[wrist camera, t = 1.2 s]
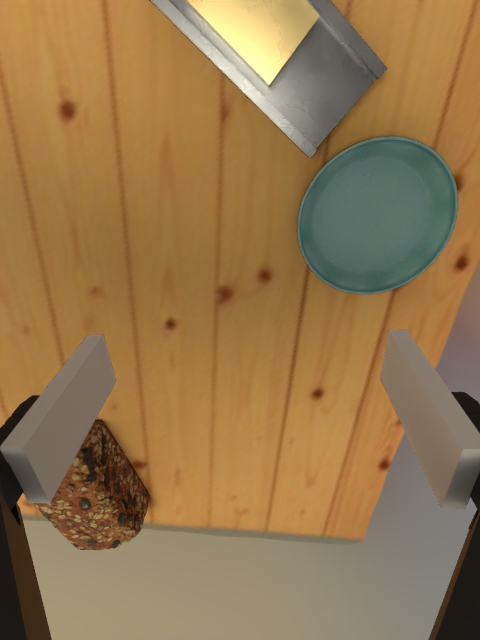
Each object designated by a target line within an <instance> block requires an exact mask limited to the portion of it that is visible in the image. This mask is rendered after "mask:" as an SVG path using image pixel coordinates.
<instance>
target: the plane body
mask: <svg viewBox="0 0 480 640" xmlns="http://www.w3.org/2000/svg"><path fill="white" fill-rule="evenodd" d="M150 1H151V2H152V3H153V4H154V5H155V6H156V7H157V8H158V9H159V10H160V11H161V12H162V13H163V14H164V15H165V16H166V17H167V18H168V19H169V20H170V21H171V22H172V23H173V24H174V25H175V26H176V27H177V28H178V29H179V30H180V31H181V32H182V33H183V34H184V35H185V36H186V37H187V38H188V39H189V40H190V41H191V42H192V43H193V44H194V45H195V46H196V47H197V48H198V49H199V50H200V51H201V52H202V53H203V54H204V55H205V56H206V57H207V58H208V59H209V60H210V61H211V62H212V63H213V64H214V65H215V66H216V67H217V68H219V69H220V70H221V71H222V72H223V73H224V74H225V75H226V76H227V77H228V78H229V79H230V80H231V81H232V82H233V83H234V84H235V85H236V86H237V87H238V88H239V89H240V90H241V91H242V92H243V93H244V94H245V95H246V96H247V97H248V98H249V99H250V100H251V101H252V102H253V103H254V104H255V105H256V106H257V107H258V108H259V109H260V110H261V111H262V112H263V113H264V114H265V115H266V116H267V117H268V118H269V119H270V120H271V121H272V122H273V123H274V124H275V125H276V126H277V127H278V128H279V129H280V130H281V131H282V132H283V133H284V134H285V135H286V136H287V137H288V138H289V139H290V140H291V141H292V142H293V143H294V144H295V145H296V146H297V147H298V148H299V149H300V150H301V151H302V152H303V153H304V154H305V155H307V156H308V157H309V158H311V157H312V156H313V154H314V153H315V152H316V151H317V150H316V148H317V147H318V146H319V145H320V144H321V142H322V141H323V140H324V139H325V138H326V137H327V135H328V134H329V133H330V132H331V131H332V130H333V128H334V127H335V126H336V125H337V124H338V123H339V121H340V120H341V119H342V118H343V117H344V116H345V114H346V113H347V112H348V111H349V110H350V109H351V108H352V106H353V105H354V104H355V103H356V102H357V101H358V99H359V98H360V97H361V96H362V95H363V94H364V92H365V91H366V90H367V89H368V88H369V87H370V85H371V84H372V83H373V82H374V81H375V80H376V79H379V78H380V77H381V76H382V74H383V73H384V72H385V71H386V70H387V69H388V68H387V67H386V66H385V65H384V64H383V63H382V61H381V60H380V59H379V58H378V57H377V55H376V54H375V53H374V52H373V51H372V49H371V48H370V47H369V46H368V45H367V43H366V42H365V41H364V40H363V39H362V38H361V36H360V35H359V34H358V33H357V32H356V30H355V29H354V28H353V27H352V26H351V24H350V23H349V22H348V21H347V20H346V18H345V17H344V16H343V15H342V14H341V12H340V11H339V10H338V9H337V8H336V7H335V5H334V4H333V3H332V2H331V1H330V0H307V2H308V3H309V4H310V5H311V6H312V7H313V9H314V10H315V11H316V12H317V13H318V14H319V16H320V17H319V18H318V20H317V22H316V24H315V26H314V27H313V29H312V30H311V31H310V33H309V34H308V35H307V37H306V38H305V39H304V41H303V42H302V43H301V45H300V46H299V48H298V49H297V50H296V52H295V53H294V54H293V56H292V57H291V58H290V60H289V61H288V62H287V64H286V65H285V67H284V68H283V69H282V71H281V72H280V73H279V75H278V76H277V77H276V79H275V80H274V81H273V83H272V84H271V86H270V87H269V88H268V87H267V86H266V85H265V84H264V83H263V82H262V81H261V80H260V79H259V78H258V77H257V76H256V75H255V74H254V73H253V72H252V71H251V70H250V69H249V68H248V67H247V66H246V65H245V64H244V62H243V61H242V60H241V59H240V58H239V57H238V56H237V55H236V54H235V53H234V52H233V51H232V50H231V49H230V48H229V47H228V46H227V45H226V44H225V43H224V42H223V41H222V40H221V39H220V38H219V37H218V36H217V35H216V34H215V33H214V32H213V31H212V30H211V29H210V28H209V27H208V26H207V25H206V24H205V23H204V22H203V21H202V20H201V19H200V17H199V16H198V15H197V14H196V13H195V12H194V11H193V10H192V9H191V8H190V7H189V6H188V5H187V4H186V2H185V1H184V0H150Z"/></svg>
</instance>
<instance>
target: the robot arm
mask: <svg viewBox="0 0 480 640" xmlns="http://www.w3.org/2000/svg"><path fill="white" fill-rule="evenodd" d="M380 379H381V381H382V384H383V386H384V388H385V390H386V392H387V394H388V396H389V398H390V401H391V403H392V405H393V407H394V409H395V411H396V413H397V416H398V418H399V420H400V422H401V424H402V426H403V428H404V430H405V433H406V435H407V437H408V439H409V441H410V443H411V445H412V447H413V450H414V452H415V454H416V456H417V458H418V460H419V462H420V465H421V467H422V469H423V471H424V473H425V475H426V477H427V479H428V482H429V484H430V485H431V488H432V490H433V492H434V494H435V496H436V499H437V501H438V503H439V505H440V507H441V508H457V509H458V508H459V509H465V508H466V506H467V504H468V502H469V499H470V497H471V498H472V500H473V502H474V504H475V505H476V507H477V511H476V513H475V515H474V518H473V520H472V522H471V524H470V526H469V532H468V534H467V537H466V540H465V543H464V545H463V548H462V551H461V553H460V556H459V559H458V561H457V564H456V567H455V570H454V572H453V575H452V578H451V580H450V583H449V586H448V589H447V591H446V594H445V597H444V599H443V602H442V605H441V607H440V610H439V613H438V616H437V618H436V621H435V624H434V626H433V629H432V632H431V635H430V637H429V640H480V404H479V403H478V402H477V401H476V400H475V399H473V398H472V397H470V396H469V395H468V394H466V393H465V392H450V391H449V389H448V388H447V386H446V385H445V384H444V382H443V381H442V379H441V378H440V376H439V375H438V374H437V372H436V371H435V369H434V368H433V366H432V365H431V364H430V362H429V361H428V359H427V358H426V356H425V355H424V354H423V352H422V351H421V349H420V348H419V347H418V345H417V344H416V342H415V341H414V339H413V338H412V337H411V335H410V334H409V332H408V331H407V330H389V333H388V339H387V344H386V350H385V355H384V361H383V366H382V372H381V377H380ZM115 382H116V378H115V375H114V371H113V367H112V364H111V360H110V356H109V353H108V349H107V345H106V342H105V338H104V335H87V337H86V338H85V339H84V340H83V342H82V343H81V344H80V346H79V347H78V348H77V349H76V351H75V352H74V353H73V354H72V356H71V357H70V358H69V360H68V361H67V362H66V363H65V365H64V366H63V367H62V368H61V370H60V371H59V372H58V374H57V375H56V376H55V377H54V379H53V380H52V381H51V382H50V384H49V385H48V386H47V388H46V389H45V390H44V391H43V393H42V394H41V395H33V396H31V397H30V398H28V399H27V400H26V401H24V402H23V403H21V404H20V405H19V406H18V408H17V409H16V410H15V411H14V412H13V414H12V416H11V417H9V419H8V420H7V421H6V422H5V425H3V426H2V427H1V428H0V640H52V639H51V636H50V631H49V627H48V623H47V618H46V614H45V610H44V606H43V602H42V598H41V594H40V590H39V586H38V581H37V577H36V573H35V569H34V565H33V561H32V557H31V553H30V548H29V544H28V540H27V536H26V532H25V528H24V524H23V520H22V516H21V511H20V508H19V506H18V504H17V501H18V500H19V498H20V496H21V495H22V493H24V495H25V497H26V499H27V500H28V502H29V503H51V501H52V499H53V497H54V495H55V493H56V491H57V490H58V488H59V486H60V484H61V482H62V480H63V478H64V477H65V475H66V473H67V471H68V469H69V467H70V466H71V464H72V462H73V460H74V458H75V456H76V454H77V453H78V451H79V449H80V447H81V445H82V443H83V441H84V440H85V438H86V436H87V434H88V432H89V430H90V429H91V427H92V425H93V423H94V421H95V419H96V417H97V416H98V414H99V412H100V410H101V408H102V406H103V404H104V403H105V401H106V399H107V397H108V395H109V393H110V392H111V390H112V388H113V386H114V384H115Z"/></svg>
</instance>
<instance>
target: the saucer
mask: <svg viewBox="0 0 480 640" xmlns="http://www.w3.org/2000/svg"><path fill="white" fill-rule="evenodd" d="M457 211H458V192H457V187H456V182H455V179H454V177H453V174H452V172H451V170H450V168H449V167H448V165H447V163H446V162H445V161H444V160H443V158H442V157H441V156H440V155H439V154H438V153H437V152H435V151H434V150H433V149H432V148H430V147H428V146H427V145H425V144H423V143H421V142H419V141H416V140H413V139H410V138H405V137H397V136H386V137H377V138H372V139H368V140H365V141H362V142H359V143H357V144H355V145H352V146H351V147H349V148H347V149H345V150H343V151H342V152H340V153H339V154H337V155H336V156H335V157H333V158H332V159H331V160H330V161H329V162H328V163H326V164H325V165H324V167H323V168H322V169H321V170H320V171H319V172H318V173H317V175H316V176H315V177H314V179H313V180H312V182H311V183H310V185H309V187H308V188H307V190H306V192H305V195H304V197H303V199H302V202H301V205H300V209H299V213H298V221H297V235H298V242H299V246H300V250H301V253H302V255H303V257H304V259H305V261H306V263H307V265H308V266H309V268H310V269H311V270H312V272H313V273H314V274H315V275H316V276H317V277H318V278H319V279H321V280H322V281H323V282H325V283H326V284H328V285H329V286H331V287H333V288H335V289H338V290H340V291H344V292H347V293H352V294H376V293H382V292H386V291H390V290H393V289H395V288H397V287H400V286H402V285H404V284H406V283H408V282H410V281H411V280H413V279H414V278H416V277H417V276H419V275H420V274H421V273H423V272H424V271H425V270H426V269H427V268H428V267H429V266H430V265H431V264H432V263H433V262H434V261H435V260H436V259H437V258H438V256H439V255H440V253H441V252H442V251H443V249H444V248H445V246H446V244H447V243H448V241H449V239H450V237H451V234H452V232H453V229H454V226H455V222H456V219H457Z"/></svg>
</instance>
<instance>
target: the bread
mask: <svg viewBox="0 0 480 640" xmlns="http://www.w3.org/2000/svg"><path fill="white" fill-rule="evenodd" d="M148 500H149V495H148V491H147V490H146V488H144V486H143V484H142V482H141V480H140V478H139V477H137V474H136V471H135V470H134V469H133V468H132V466H131V465H130V462H129V461H128V460H127V457H126V456H125V455H124V452H122V451H120V449H119V445H118V444H117V442H116V441H115V439H114V437H113V436H112V435H111V434H110V432H109V430H108V429H106V428H105V427H104V425H103V423H102V422H100V421H94V423H93V425H92V427H91V429H90V430H89V432H88V434H87V436H86V438H85V440H84V441H83V443H82V445H81V447H80V449H79V451H78V453H77V454H76V456H75V458H74V460H73V462H72V464H71V466H70V467H69V469H68V471H67V473H66V475H65V477H64V478H63V480H62V482H61V484H60V486H59V488H58V490H57V491H56V493H55V495H54V497H53V499H52V501H51V503H33V504H34V505H35V507H37V508H38V509H39V511H40V512H41V513H42V515H43V516H44V517H45V518H47V519H48V520H49V521H51V522H52V524H53V526H54V527H55V528H57V529H58V530H59V531H60V532H61V534H62V535H63V536H64V537H66V538H67V540H68V541H69V542H70V543H71V544H73V545H74V546H75V547H76V548H78V549H80V550H104V549H110V548H116V547H118V546H120V545H121V544H122V543H124V542H128V541H130V540H131V539H132V538H134V537H135V536H136V535H137V534H138V533H139V532H140V530H141V528H142V526H143V522H144V517H145V515H146V513H147V508H148Z"/></svg>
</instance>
